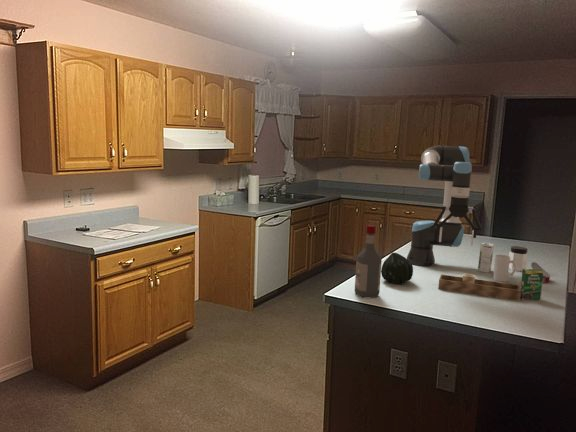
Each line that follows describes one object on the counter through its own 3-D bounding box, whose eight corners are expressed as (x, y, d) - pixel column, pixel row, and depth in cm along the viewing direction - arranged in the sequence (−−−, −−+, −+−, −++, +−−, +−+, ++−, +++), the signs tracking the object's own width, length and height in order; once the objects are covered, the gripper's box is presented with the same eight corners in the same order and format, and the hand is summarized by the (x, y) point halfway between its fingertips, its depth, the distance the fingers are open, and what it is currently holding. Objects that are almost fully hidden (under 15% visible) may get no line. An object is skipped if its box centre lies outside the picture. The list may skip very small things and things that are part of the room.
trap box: (438, 289, 218) (439, 279, 218) (440, 283, 227) (441, 274, 227) (519, 300, 206) (521, 290, 205) (518, 294, 214) (519, 284, 214)
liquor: (361, 298, 201) (365, 227, 197) (352, 291, 210) (356, 224, 205) (381, 297, 204) (386, 227, 199) (371, 290, 212) (376, 223, 208)
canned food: (537, 286, 245) (547, 269, 245) (548, 290, 235) (559, 273, 235) (518, 275, 245) (528, 258, 244) (529, 279, 235) (539, 261, 234)
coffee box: (522, 299, 208) (525, 270, 206) (518, 297, 211) (522, 268, 209) (540, 300, 208) (544, 270, 206) (537, 298, 211) (540, 269, 209)
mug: (491, 279, 237) (493, 256, 235) (494, 277, 243) (496, 253, 241) (513, 283, 231) (516, 259, 230) (516, 280, 237) (518, 257, 235)
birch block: (461, 285, 216) (462, 275, 216) (462, 282, 221) (463, 273, 220) (473, 287, 215) (474, 277, 214) (474, 284, 219) (475, 274, 218)
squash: (422, 270, 228) (403, 244, 231) (413, 279, 215) (393, 251, 218) (399, 285, 235) (381, 260, 238) (389, 294, 222) (370, 267, 225)
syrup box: (479, 268, 258) (482, 242, 256) (491, 270, 255) (494, 243, 253) (477, 271, 253) (480, 244, 251) (489, 272, 250) (492, 245, 248)
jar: (519, 272, 254) (521, 250, 252) (504, 268, 261) (507, 246, 259) (528, 270, 259) (531, 248, 257) (514, 266, 266) (516, 245, 264)
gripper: (430, 195, 216) (426, 241, 219) (490, 199, 207) (485, 247, 210) (431, 193, 223) (428, 238, 226) (490, 198, 214) (485, 244, 217)
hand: (455, 243), depth 218 cm, fingers open, 13 cm apart
